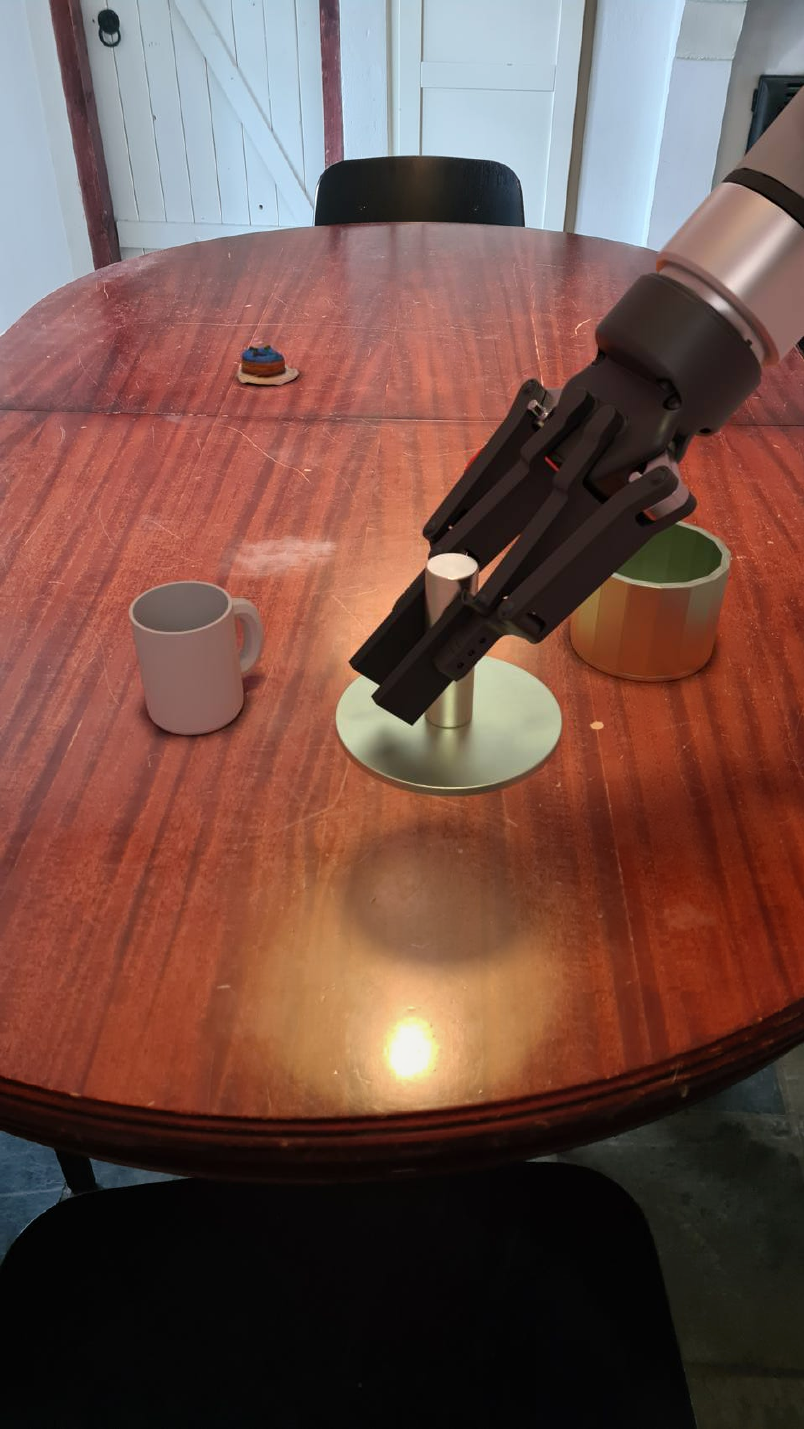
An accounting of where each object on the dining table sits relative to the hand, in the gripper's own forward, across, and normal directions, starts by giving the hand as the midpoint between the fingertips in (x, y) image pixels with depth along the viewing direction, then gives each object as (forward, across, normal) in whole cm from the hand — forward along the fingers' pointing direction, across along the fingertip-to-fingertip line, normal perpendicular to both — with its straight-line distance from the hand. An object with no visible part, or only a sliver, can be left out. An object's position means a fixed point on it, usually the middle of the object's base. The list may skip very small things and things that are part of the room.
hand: (380, 693), depth 53 cm
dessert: (-3, +92, -24) cm, 95 cm away
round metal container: (-10, +19, -32) cm, 38 cm away
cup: (+14, +24, -8) cm, 29 cm away
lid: (-1, 0, -5) cm, 5 cm away
